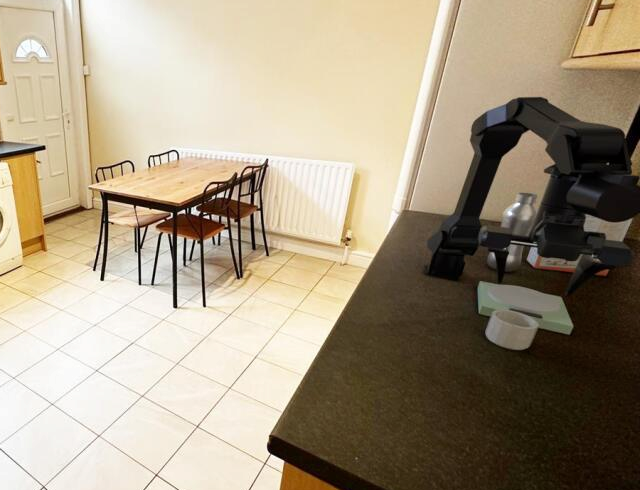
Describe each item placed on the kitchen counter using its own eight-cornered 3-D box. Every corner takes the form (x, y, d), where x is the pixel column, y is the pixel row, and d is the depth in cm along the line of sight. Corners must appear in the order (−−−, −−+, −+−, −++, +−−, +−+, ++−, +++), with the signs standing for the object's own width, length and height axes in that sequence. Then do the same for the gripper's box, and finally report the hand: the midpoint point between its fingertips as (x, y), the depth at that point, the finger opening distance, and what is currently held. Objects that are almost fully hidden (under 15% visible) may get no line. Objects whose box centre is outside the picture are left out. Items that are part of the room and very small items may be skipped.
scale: (478, 314, 89) (482, 302, 88) (477, 288, 99) (481, 277, 98) (569, 335, 81) (575, 322, 80) (558, 304, 91) (562, 293, 90)
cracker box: (593, 267, 107) (631, 188, 98) (606, 277, 102) (646, 195, 93) (524, 259, 112) (553, 184, 104) (533, 268, 107) (564, 190, 99)
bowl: (484, 343, 79) (493, 321, 77) (483, 327, 84) (491, 306, 82) (531, 355, 76) (541, 332, 74) (527, 337, 80) (536, 316, 78)
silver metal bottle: (489, 272, 106) (517, 197, 98) (480, 262, 112) (505, 190, 104) (521, 276, 104) (552, 199, 96) (510, 265, 109) (538, 191, 101)
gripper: (496, 208, 68) (469, 292, 74) (668, 226, 58) (621, 322, 64) (490, 195, 77) (466, 271, 82) (639, 208, 66) (600, 294, 72)
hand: (532, 288), depth 75 cm, fingers open, 9 cm apart
